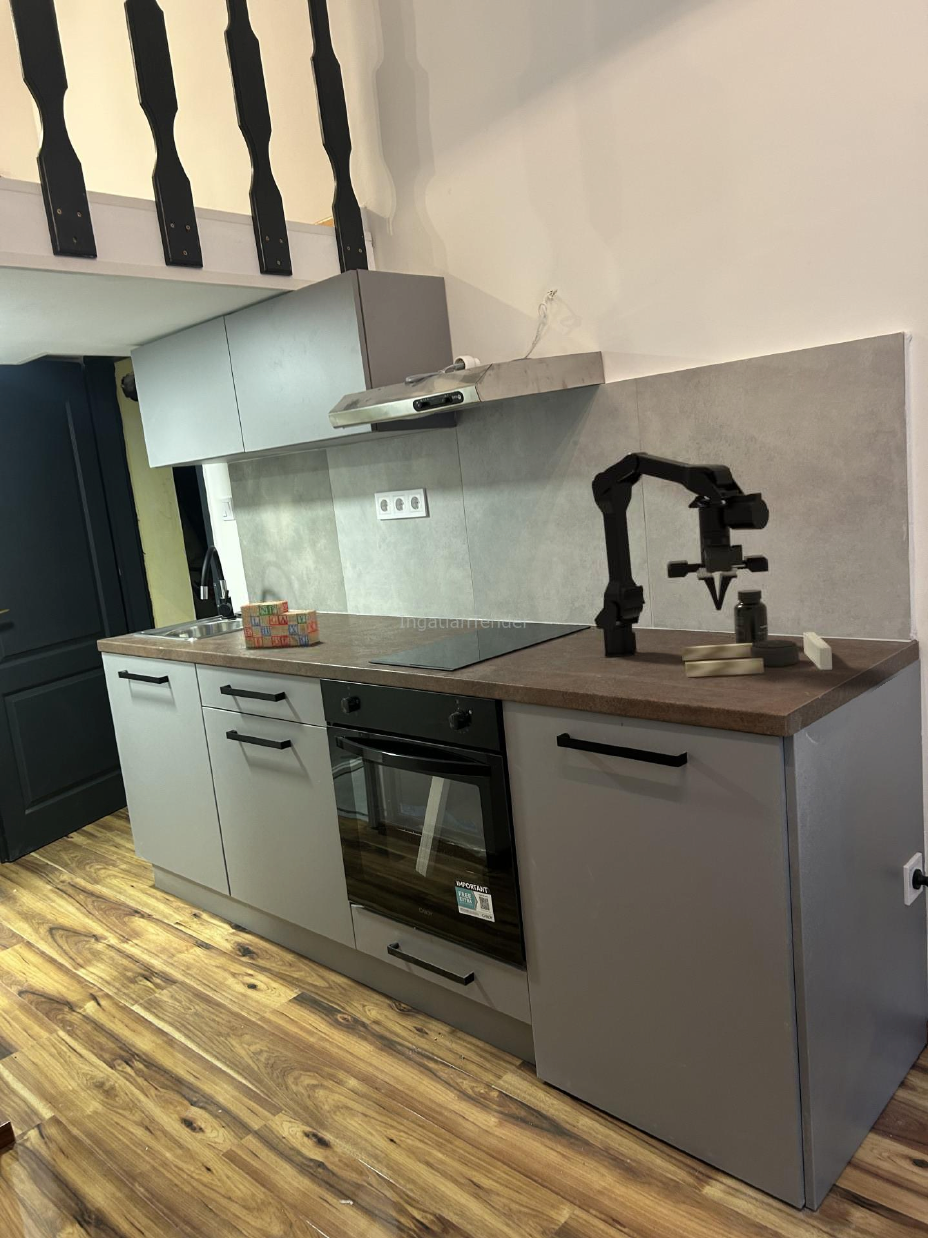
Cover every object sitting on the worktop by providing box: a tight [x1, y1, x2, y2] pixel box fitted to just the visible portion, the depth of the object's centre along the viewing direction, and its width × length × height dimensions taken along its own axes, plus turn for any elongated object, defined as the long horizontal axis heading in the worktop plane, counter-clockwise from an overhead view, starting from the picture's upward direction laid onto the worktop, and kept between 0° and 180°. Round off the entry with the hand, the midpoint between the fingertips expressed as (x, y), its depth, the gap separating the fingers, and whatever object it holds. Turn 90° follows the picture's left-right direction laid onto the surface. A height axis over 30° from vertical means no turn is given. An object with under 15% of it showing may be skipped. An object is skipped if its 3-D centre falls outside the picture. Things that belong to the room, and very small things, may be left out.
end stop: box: [802, 631, 833, 671], centre depth 174 cm, size 2×17×4 cm, turn 169°
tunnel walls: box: [681, 643, 765, 678], centre depth 178 cm, size 14×17×2 cm
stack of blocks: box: [239, 600, 320, 648], centre depth 261 cm, size 21×6×12 cm, turn 70°
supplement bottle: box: [733, 589, 769, 644], centre depth 193 cm, size 7×7×12 cm
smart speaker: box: [749, 639, 800, 668], centre depth 176 cm, size 9×9×4 cm
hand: (718, 610), depth 178 cm, fingers closed
